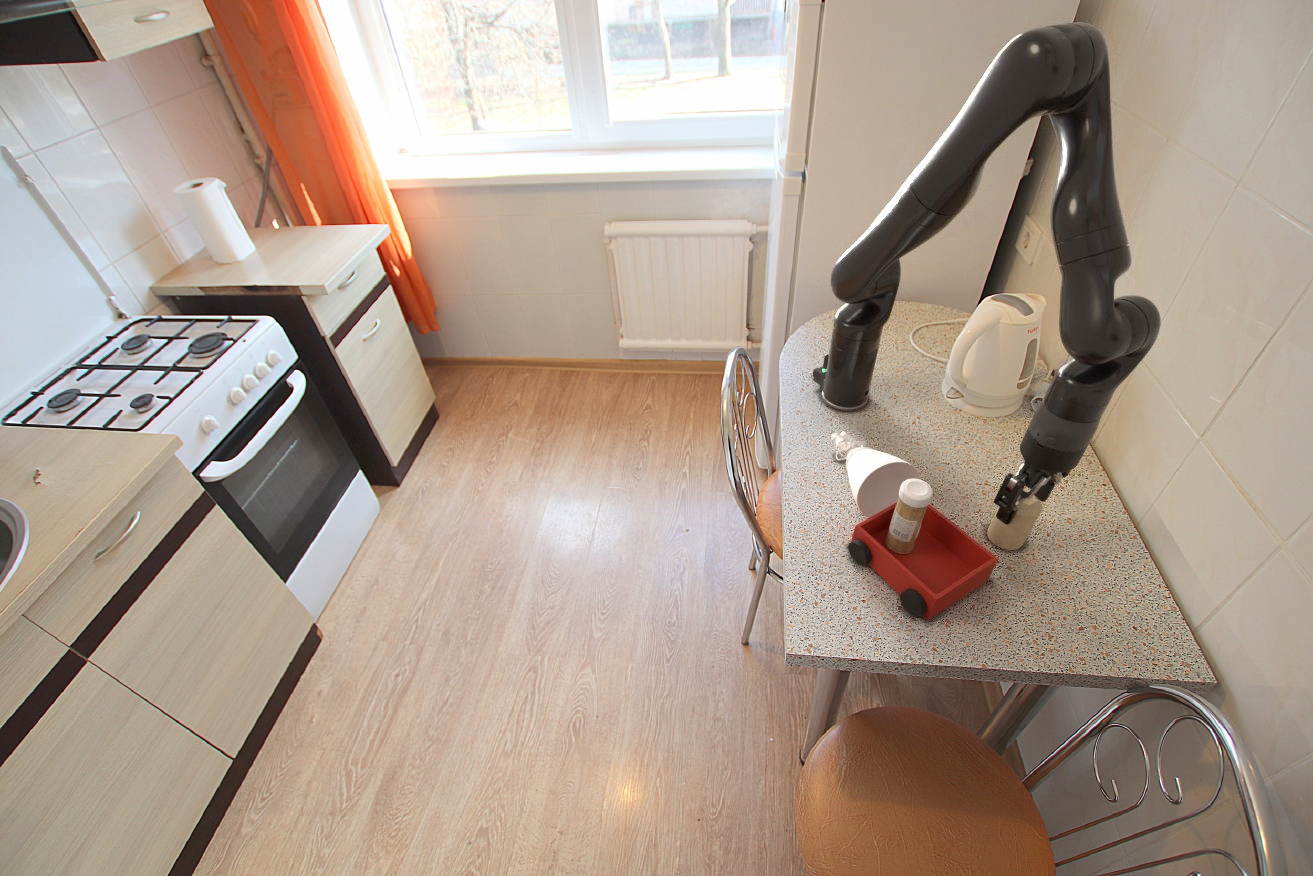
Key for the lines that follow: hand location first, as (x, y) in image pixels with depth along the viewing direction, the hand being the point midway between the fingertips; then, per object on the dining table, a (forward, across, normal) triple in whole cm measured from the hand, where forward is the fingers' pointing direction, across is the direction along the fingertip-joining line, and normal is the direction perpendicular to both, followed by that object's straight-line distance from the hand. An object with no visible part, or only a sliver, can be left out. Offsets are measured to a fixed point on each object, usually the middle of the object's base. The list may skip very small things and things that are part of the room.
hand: (1020, 509), depth 96 cm
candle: (+7, 0, 0) cm, 7 cm away
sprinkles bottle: (+7, +16, -8) cm, 19 cm away
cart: (+7, +16, -4) cm, 18 cm away
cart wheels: (+7, +16, -4) cm, 18 cm away
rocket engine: (+7, +9, -22) cm, 24 cm away
